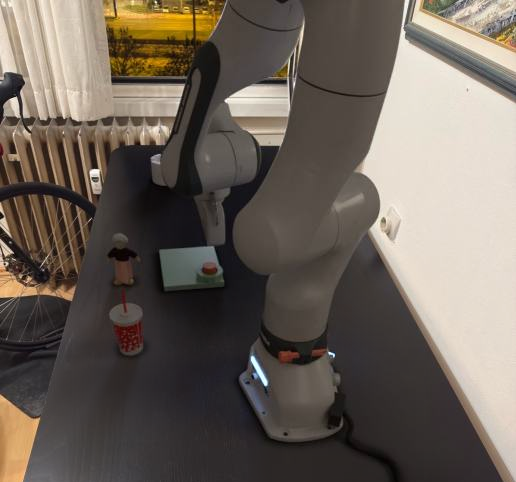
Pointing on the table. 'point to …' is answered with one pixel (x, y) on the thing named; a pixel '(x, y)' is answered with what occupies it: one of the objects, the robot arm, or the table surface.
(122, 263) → the grandmother figurine
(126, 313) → the beverage cup
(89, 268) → the table surface
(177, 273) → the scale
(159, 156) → the bracket
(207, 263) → the tare button
